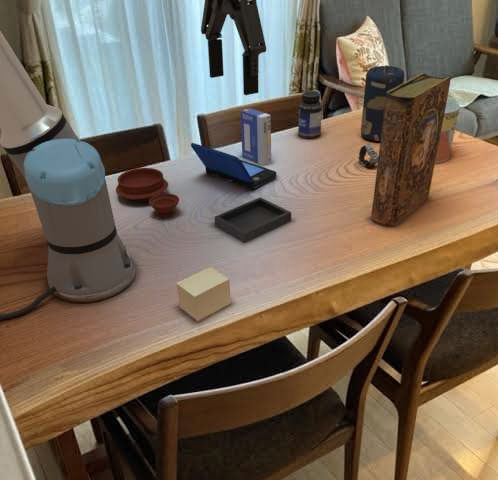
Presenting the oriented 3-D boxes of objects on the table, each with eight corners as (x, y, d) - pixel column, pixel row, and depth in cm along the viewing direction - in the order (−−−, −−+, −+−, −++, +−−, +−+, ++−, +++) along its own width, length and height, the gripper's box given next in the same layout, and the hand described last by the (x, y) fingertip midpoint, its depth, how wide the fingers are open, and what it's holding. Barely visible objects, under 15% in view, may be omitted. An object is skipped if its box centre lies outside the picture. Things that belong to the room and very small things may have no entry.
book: (392, 229, 107) (411, 99, 91) (367, 221, 110) (382, 93, 94) (428, 198, 117) (451, 76, 101) (405, 191, 120) (424, 71, 104)
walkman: (242, 157, 138) (240, 109, 130) (250, 153, 139) (248, 106, 131) (263, 165, 133) (262, 116, 125) (271, 162, 134) (271, 113, 127)
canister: (401, 134, 146) (411, 62, 135) (388, 146, 140) (398, 72, 128) (368, 128, 150) (375, 58, 139) (354, 139, 144) (360, 67, 133)
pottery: (154, 179, 129) (152, 162, 126) (197, 210, 116) (195, 191, 113) (109, 193, 124) (105, 175, 121) (148, 227, 111) (144, 208, 108)
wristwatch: (361, 171, 132) (372, 161, 127) (355, 152, 132) (366, 142, 128) (371, 170, 133) (383, 160, 128) (365, 151, 133) (376, 140, 129)
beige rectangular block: (197, 321, 87) (194, 296, 84) (179, 307, 90) (176, 283, 87) (231, 303, 90) (229, 278, 87) (212, 290, 93) (210, 266, 90)
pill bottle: (294, 133, 149) (295, 92, 142) (313, 129, 151) (315, 88, 144) (304, 141, 144) (306, 98, 137) (324, 137, 146) (327, 94, 139)
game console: (279, 177, 127) (279, 139, 121) (240, 198, 120) (238, 158, 114) (231, 161, 136) (229, 124, 130) (192, 179, 128) (188, 141, 122)
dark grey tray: (244, 243, 105) (244, 234, 104) (214, 225, 111) (214, 216, 110) (291, 220, 111) (291, 212, 110) (260, 205, 117) (260, 196, 116)
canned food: (447, 166, 129) (457, 115, 122) (399, 160, 133) (407, 111, 125) (451, 148, 137) (461, 100, 130) (406, 143, 141) (414, 96, 133)
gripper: (288, -47, 82) (285, 98, 95) (214, -57, 99) (220, 67, 112) (245, -44, 79) (248, 105, 92) (176, -55, 96) (187, 72, 109)
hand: (233, 84), depth 102 cm, fingers open, 13 cm apart
